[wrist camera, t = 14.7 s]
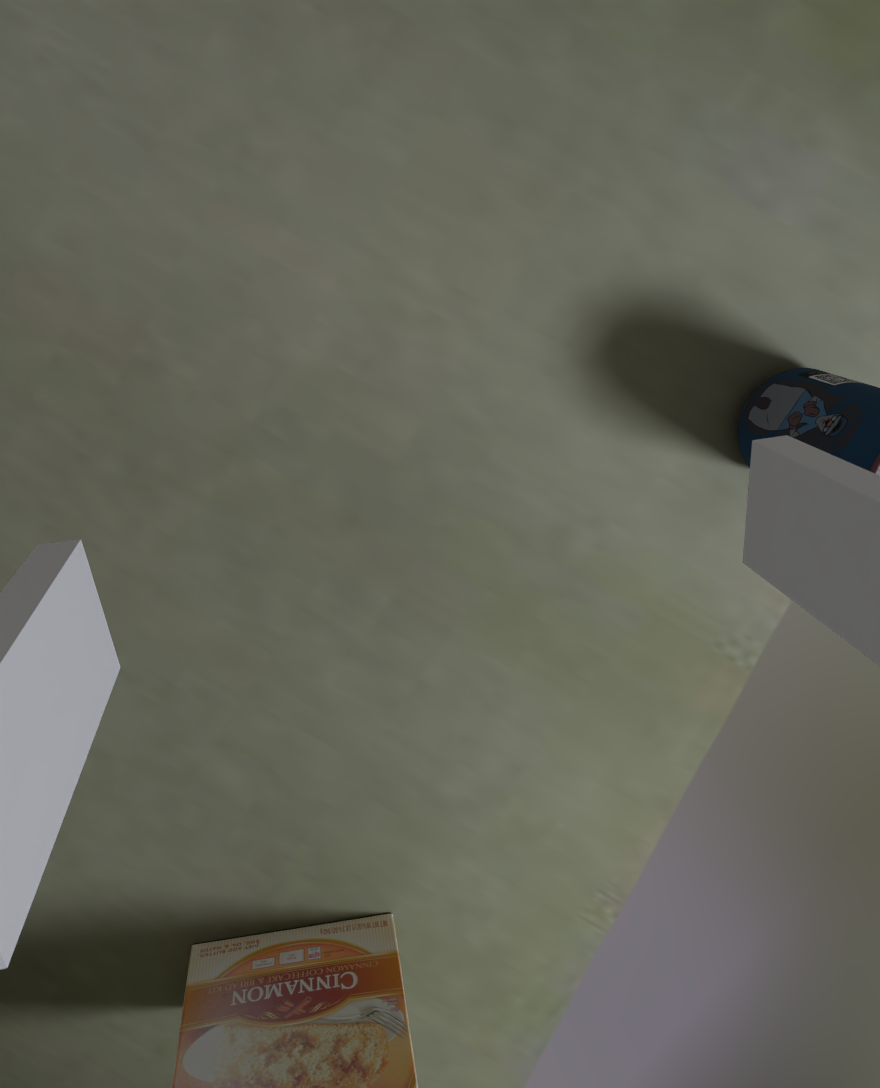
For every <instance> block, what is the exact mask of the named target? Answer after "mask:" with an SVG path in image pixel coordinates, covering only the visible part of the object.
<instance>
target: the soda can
mask: <svg viewBox="0 0 880 1088" xmlns="http://www.w3.org/2000/svg"><path fill="white" fill-rule="evenodd" d="M785 435H788V436H790V437H792V438H794V439H797V440H799V441H801V442H804V443H806V444H808V445H810V446H813V447H815V448H817V449H820V450H822V451H824V452H826V453H829V454H831V455H833V456H836V457H838V458H840V459H842V460H845V461H847V462H849V463H852V464H854V465H856V466H858V467H861V468H863V469H865V470H868V471H870V472H872V473H874V474H877V475H879V476H880V388H878V387H874V386H871V385H868V384H864V383H861V382H857V381H854V380H850V379H847V378H844V377H840V376H837V375H833V374H830V373H827V372H823V371H820V370H816V369H811V368H798V369H792V370H788V371H785V372H783V373H780V374H778V375H776V376H774V377H773V378H771V379H770V380H768V381H767V382H765V383H764V384H763V385H761V386H760V387H759V388H758V389H756V390H755V391H754V392H753V394H752V395H751V396H750V397H749V399H748V400H747V402H746V403H745V405H744V407H743V409H742V411H741V414H740V418H739V423H738V443H739V448H740V451H741V454H742V457H743V459H744V461H745V462H746V464H747V465H748V466H749V468H750V462H751V449H752V440H758V439H765V438H772V437H778V436H785Z"/></svg>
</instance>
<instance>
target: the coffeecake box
mask: <svg viewBox="0 0 880 1088" xmlns="http://www.w3.org/2000/svg"><path fill="white" fill-rule="evenodd" d="M172 1088H418V1084H417V1077H416V1070H415V1064H414V1056H413V1049H412V1042H411V1036H410V1029H409V1022H408V1015H407V1008H406V1001H405V994H404V987H403V980H402V973H401V966H400V959H399V952H398V945H397V938H396V932H395V926H394V920H393V914H392V913H390V914H384V915H377V916H371V917H365V918H359V919H353V920H346V921H340V922H334V923H328V924H322V925H315V926H309V927H303V928H297V929H290V930H284V931H278V932H271V933H265V934H259V935H252V936H246V937H239V938H233V939H227V940H220V941H214V942H208V943H201V944H194V945H192V949H191V955H190V961H189V968H188V975H187V982H186V989H185V996H184V1003H183V1010H182V1017H181V1024H180V1031H179V1038H178V1046H177V1053H176V1060H175V1067H174V1074H173V1081H172Z"/></svg>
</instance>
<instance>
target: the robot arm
mask: <svg viewBox="0 0 880 1088" xmlns="http://www.w3.org/2000/svg"><path fill="white" fill-rule="evenodd" d="M743 563H744V564H745V565H747V566H748V567H749V568H751V569H752V570H753V571H755V572H756V573H757V574H759V575H760V576H761V577H762V578H764V579H765V580H766V581H768V582H769V583H770V584H772V585H773V586H774V587H776V588H777V589H778V590H780V591H781V592H782V593H784V594H785V595H786V596H787V597H789V598H790V599H791V600H793V601H794V602H795V603H797V604H798V605H800V606H801V607H802V608H803V609H805V610H806V611H807V612H809V613H810V614H811V615H813V616H814V617H815V618H816V619H818V620H819V621H820V622H822V623H823V624H824V625H826V626H827V627H828V628H830V629H831V630H832V631H834V632H835V633H836V634H838V635H839V636H840V637H842V638H843V639H844V640H845V641H847V642H848V643H849V644H851V645H852V646H853V647H855V648H856V649H857V650H858V651H860V652H861V653H862V654H864V655H865V656H866V657H868V658H869V659H870V660H872V661H873V662H874V663H876V664H877V665H878V666H880V476H879V475H877V474H874V473H872V472H870V471H868V470H865V469H863V468H861V467H858V466H856V465H854V464H852V463H849V462H847V461H845V460H842V459H840V458H838V457H836V456H833V455H831V454H829V453H826V452H824V451H822V450H820V449H817V448H815V447H813V446H810V445H808V444H806V443H804V442H801V441H799V440H797V439H794V438H792V437H790V436H788V435H785V436H778V437H772V438H765V439H758V440H752V449H751V462H750V475H749V487H748V500H747V513H746V526H745V538H744V551H743ZM119 670H120V665H119V661H118V658H117V655H116V652H115V648H114V645H113V642H112V639H111V635H110V632H109V629H108V626H107V622H106V619H105V616H104V613H103V609H102V606H101V603H100V600H99V596H98V593H97V590H96V587H95V583H94V580H93V577H92V574H91V570H90V567H89V564H88V561H87V557H86V554H85V551H84V548H83V544H82V541H81V539H78V540H72V541H65V542H58V543H51V544H44V545H38V546H36V547H35V548H34V550H33V551H32V552H31V554H30V555H29V556H28V558H27V559H26V560H25V561H24V563H23V564H22V565H21V567H20V568H19V569H18V571H17V572H16V573H15V574H14V576H13V577H12V578H11V580H10V581H9V582H8V583H7V585H6V586H5V587H4V589H3V590H2V591H1V593H0V970H1V969H5V968H8V965H9V962H10V960H11V957H12V954H13V952H14V949H15V946H16V944H17V941H18V938H19V936H20V933H21V930H22V928H23V925H24V922H25V920H26V917H27V914H28V912H29V909H30V906H31V904H32V901H33V898H34V896H35V893H36V890H37V888H38V885H39V883H40V880H41V877H42V875H43V872H44V869H45V867H46V864H47V861H48V859H49V856H50V853H51V851H52V848H53V845H54V843H55V840H56V837H57V835H58V832H59V829H60V827H61V824H62V821H63V819H64V816H65V813H66V811H67V808H68V805H69V803H70V800H71V797H72V795H73V792H74V789H75V787H76V784H77V781H78V779H79V776H80V773H81V771H82V768H83V765H84V763H85V760H86V757H87V755H88V752H89V749H90V747H91V744H92V741H93V739H94V736H95V734H96V731H97V728H98V726H99V723H100V720H101V718H102V715H103V712H104V710H105V707H106V704H107V702H108V699H109V696H110V694H111V691H112V688H113V686H114V683H115V680H116V678H117V675H118V672H119Z"/></svg>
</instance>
